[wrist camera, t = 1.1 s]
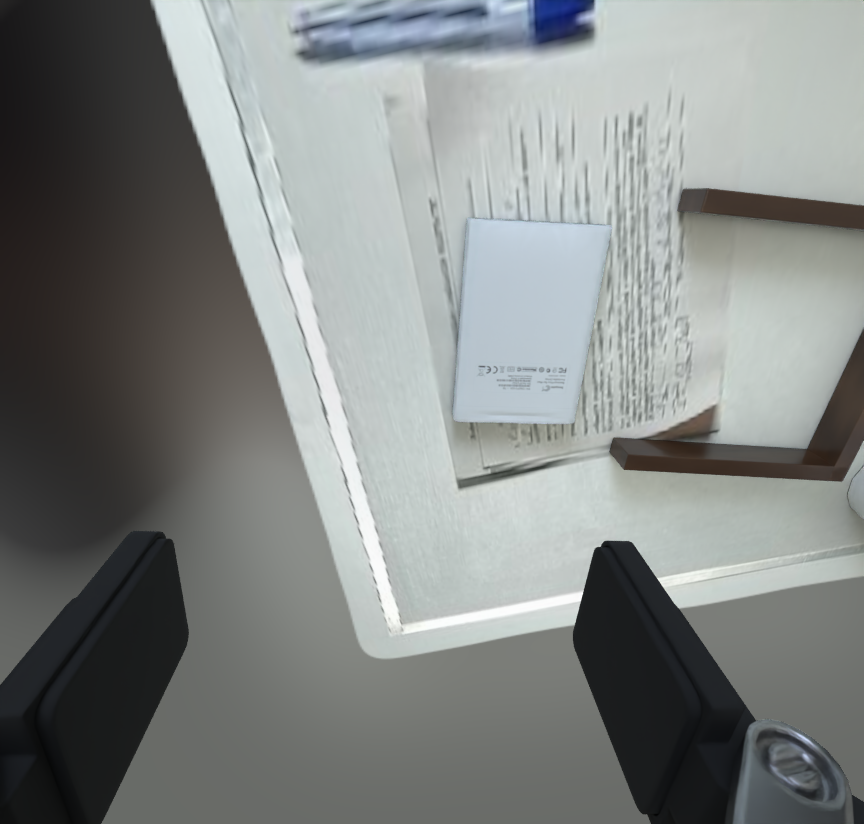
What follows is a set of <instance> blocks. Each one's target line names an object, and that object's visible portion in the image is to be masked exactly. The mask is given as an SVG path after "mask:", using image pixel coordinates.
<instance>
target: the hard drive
mask: <svg viewBox="0 0 864 824" xmlns="http://www.w3.org/2000/svg"><path fill="white" fill-rule="evenodd" d="M611 231H612V226H611V225H602V224H581V223H562V222H543V221H524V220H504V219H485V218H467V222H466V236H465V249H464V264H463V277H462V290H461V305H460V318H459V331H458V344H457V359H456V373H455V387H454V399H453V409H452V415H453V419H454V421H457V422H476V423H528V424H573V423H574V421H575V416H576V411H577V405H578V401H579V396H580V391H581V385H582V381H583V375H584V371H585V366H586V361H587V355H588V350H589V345H590V340H591V335H592V329H593V325H594V319H595V314H596V309H597V304H598V299H599V294H600V289H601V283H602V278H603V273H604V267H605V261H606V256H607V251H608V246H609V241H610V236H611Z"/></svg>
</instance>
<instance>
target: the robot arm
mask: <svg viewBox="0 0 864 824" xmlns="http://www.w3.org/2000/svg"><path fill="white" fill-rule="evenodd" d="M188 635H189V632H188V624H187V619H186V613H185V607H184V601H183V595H182V589H181V583H180V577H179V571H178V565H177V560H176V554H175V548H174V543H173V541H172V540H171V539H166V537H165V535H164V533H163V532H154V531H153V532H151V531H150V532H149V531H133V532H131V533H130V534H128V536H127V537H126V538H125V539H124V540H123V541H122V543H121V544H120V545H119V546H118V548H117V549H116V550H115V551H114V552H113V554H112V555H111V556H110V557H109V559H108V560H107V561H106V562H105V563H104V565H103V566H102V567H101V568H100V570H99V571H98V572H97V573H96V574H95V576H94V577H93V578H92V580H91V581H90V582H89V583H88V584H87V586H86V587H85V588H84V590H82V592H81V593H80V594H79V595H78V597H76V598H74V599H72V600H71V601H70V602H69V603H68V604H67V605H66V606H65V607H64V609H63V610H62V611H61V612H60V614H59V615H58V616H57V617H56V619H55V620H54V621H53V622H52V623H51V624H50V626H49V627H48V628H47V629H46V631H45V632H44V633H43V634H42V635H41V637H40V638H39V639H38V640H37V641H36V643H35V644H34V645H33V646H32V647H31V649H30V650H29V651H28V652H27V653H26V655H25V656H24V657H23V658H22V660H21V661H20V662H19V663H18V664H17V666H16V667H15V668H14V669H13V670H12V672H11V673H10V674H9V675H8V677H7V678H6V679H5V680H4V681H3V683H2V684H1V685H0V824H101V823H102V821H103V819H104V817H105V815H106V813H107V811H108V809H109V807H110V805H111V803H112V801H113V799H114V797H115V795H116V792H117V790H118V788H119V786H120V784H121V782H122V780H123V778H124V776H125V774H126V772H127V769H128V767H129V765H130V763H131V761H132V759H133V757H134V755H135V753H136V751H137V749H138V747H139V744H140V742H141V740H142V738H143V736H144V734H145V732H146V730H147V728H148V726H149V724H150V722H151V719H152V717H153V715H154V713H155V711H156V709H157V707H158V705H159V703H160V700H161V699H162V696H163V694H164V692H165V690H166V688H167V686H168V684H169V682H170V680H171V678H172V676H173V673H174V672H175V669H176V667H177V665H178V663H179V661H180V659H181V657H182V655H183V653H184V650H185V648H186V646H187V642H188ZM573 643H574V648H575V651H576V653H577V656H578V659H579V661H580V664H581V666H582V669H583V671H584V674H585V676H586V679H587V681H588V684H589V687H590V689H591V692H592V694H593V696H594V699H595V702H596V704H597V707H598V710H599V712H600V714H601V717H602V720H603V722H604V725H605V727H606V730H607V732H608V735H609V738H610V740H611V742H612V745H613V748H614V750H615V753H616V755H617V757H618V760H619V763H620V765H621V768H622V771H623V773H624V776H625V778H626V781H627V783H628V786H629V789H630V791H631V794H632V796H633V799H634V801H635V804H636V806H637V808H638V809H639V811H640V812H641V813H642V814H647V815H648V817H649V820H650V822H651V824H864V802H863V801H861V800H860V799H858V798H856V797H855V796H853V795H852V793H851V789H850V786H849V782H848V779H847V777H846V776H845V774H844V772H843V770H842V769H841V767H840V765H839V764H838V763H837V762H836V761H835V760H834V758H833V757H832V756H831V755H830V753H829V752H828V751H827V750H826V749H825V748H823V747H822V746H821V745H820V744H819V743H817V742H816V741H815V740H814V739H813V738H812V737H810V736H808V735H807V734H805V733H804V732H802V731H800V730H799V729H797V728H795V727H793V726H790V725H788V724H786V723H783V722H779V721H775V720H769V719H765V720H757V721H756V720H755V718H754V717H753V716H752V714H751V713H750V711H749V710H748V708H747V707H746V705H745V704H744V702H743V701H742V700H741V698H740V697H739V695H738V694H737V692H736V691H735V689H734V688H733V686H732V685H731V684H730V682H729V681H728V679H727V678H726V676H725V675H724V673H723V672H722V670H721V669H720V668H719V666H718V665H717V663H716V662H715V660H714V659H713V657H712V656H711V655H710V653H709V652H708V650H707V649H706V647H705V646H704V644H703V643H702V641H701V640H700V638H699V637H698V636H697V634H696V633H695V631H694V630H693V628H692V627H691V625H690V624H689V622H688V621H687V620H686V618H685V617H684V615H683V614H682V612H681V611H680V610H679V608H678V607H677V606H676V605H675V604H674V603H673V601H672V600H671V598H670V597H669V595H668V594H667V593H666V591H665V590H664V588H663V587H662V585H661V584H660V582H659V581H658V579H657V578H656V576H655V575H654V574H653V572H652V571H651V569H650V568H649V566H648V565H647V563H646V562H645V560H644V559H643V557H642V556H641V555H640V553H639V552H638V550H637V549H636V547H635V546H634V545H633V544H632V542H629V541H604V542H603V543H602V545H601V547H597V548H596V549H595V550H594V553H593V557H592V561H591V565H590V569H589V572H588V576H587V580H586V584H585V588H584V592H583V596H582V600H581V604H580V607H579V611H578V615H577V619H576V623H575V627H574V631H573Z"/></svg>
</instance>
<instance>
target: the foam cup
mask: <svg viewBox="0 0 864 824" xmlns="http://www.w3.org/2000/svg"><path fill="white" fill-rule="evenodd" d="M847 495H848V499H849V503H850V507H851V508H852V509H854V510H855V511H856V513H857V514H858V515H859V516H860V517H861V518H862V519H863V520H864V466H863V467H862V469H861V470H860V471H859V472H858V473H857V475H856V476H855V477H854V478H853V479H852V482H851V485H850V488H849V491H848V494H847Z"/></svg>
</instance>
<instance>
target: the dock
mask: <svg viewBox="0 0 864 824" xmlns="http://www.w3.org/2000/svg"><path fill="white" fill-rule="evenodd" d="M678 211H681V212H691V213H700V214H710V215H719V216H728V217H738V218H747V219H757V220H766V221H775V222H785V223H794V224H804V225H813V226H823V227H832V228H841V229H851V230H860V231H864V206H862V205H853V204H844V203H835V202H826V201H817V200H808V199H799V198H790V197H781V196H772V195H763V194H754V193H745V192H736V191H727V190H718V189H709V188H701V189H683V192H682V196H681V199H680V203H679V206H678ZM863 441H864V330H863V332H862V334H861V336H860V339H859V341H858V343H857V345H856V347H855V349H854V351H853V353H852V356H851V358H850V360H849V362H848V364H847V366H846V368H845V370H844V373H843V375H842V377H841V379H840V381H839V383H838V385H837V387H836V390H835V392H834V394H833V396H832V398H831V400H830V402H829V404H828V407H827V409H826V411H825V413H824V415H823V417H822V419H821V421H820V424H819V426H818V428H817V430H816V432H815V434H814V436H813V438H812V441H811V443H810V445H809V447H808V449H793V448H776V447H760V446H743V445H727V444H710V443H694V442H677V441H661V440H644V439H628V438H613V441H612V445H611V448H610V453H611V454H612V456H613V457H614V458H615V459H616V461H617V462H618V463H619V464H620V466H621V467H622V468H623V469H624V470H639V471H657V472H675V473H694V474H712V475H730V476H749V477H767V478H785V479H804V480H822V481H840V482H842V481H843V480H844V478H845V476H846V474H847V472H848V470H849V468H850V466H851V464H852V462H853V460H854V458H855V456H856V454H857V453H858V451H859V449H860V447H861V445H862V443H863Z"/></svg>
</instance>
